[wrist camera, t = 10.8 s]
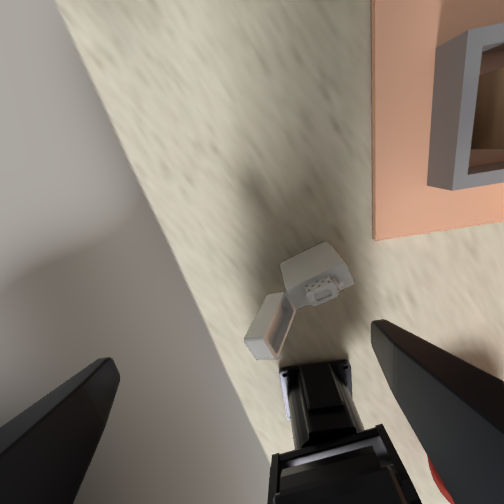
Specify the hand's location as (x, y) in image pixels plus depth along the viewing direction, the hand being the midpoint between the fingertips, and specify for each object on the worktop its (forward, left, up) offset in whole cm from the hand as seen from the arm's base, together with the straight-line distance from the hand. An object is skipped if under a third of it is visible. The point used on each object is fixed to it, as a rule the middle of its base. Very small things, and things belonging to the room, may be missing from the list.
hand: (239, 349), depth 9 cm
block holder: (+6, -17, -12) cm, 22 cm away
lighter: (-3, -3, -12) cm, 13 cm away
